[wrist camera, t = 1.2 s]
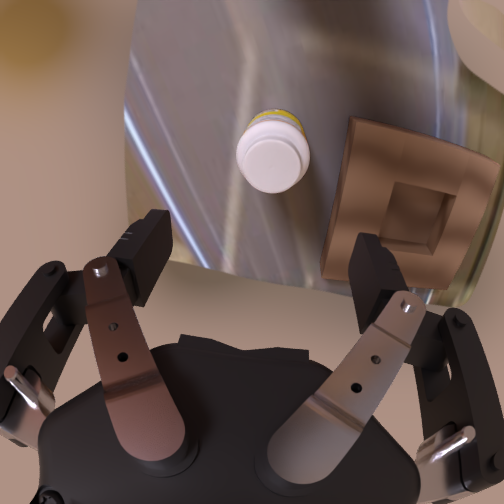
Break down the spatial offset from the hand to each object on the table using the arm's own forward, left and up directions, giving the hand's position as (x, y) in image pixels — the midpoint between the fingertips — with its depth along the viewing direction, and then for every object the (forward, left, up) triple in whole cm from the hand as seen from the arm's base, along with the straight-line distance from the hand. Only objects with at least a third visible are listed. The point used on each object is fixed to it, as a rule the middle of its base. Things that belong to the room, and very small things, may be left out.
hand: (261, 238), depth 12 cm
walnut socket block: (+6, +16, -19) cm, 25 cm away
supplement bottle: (0, 0, -19) cm, 19 cm away
